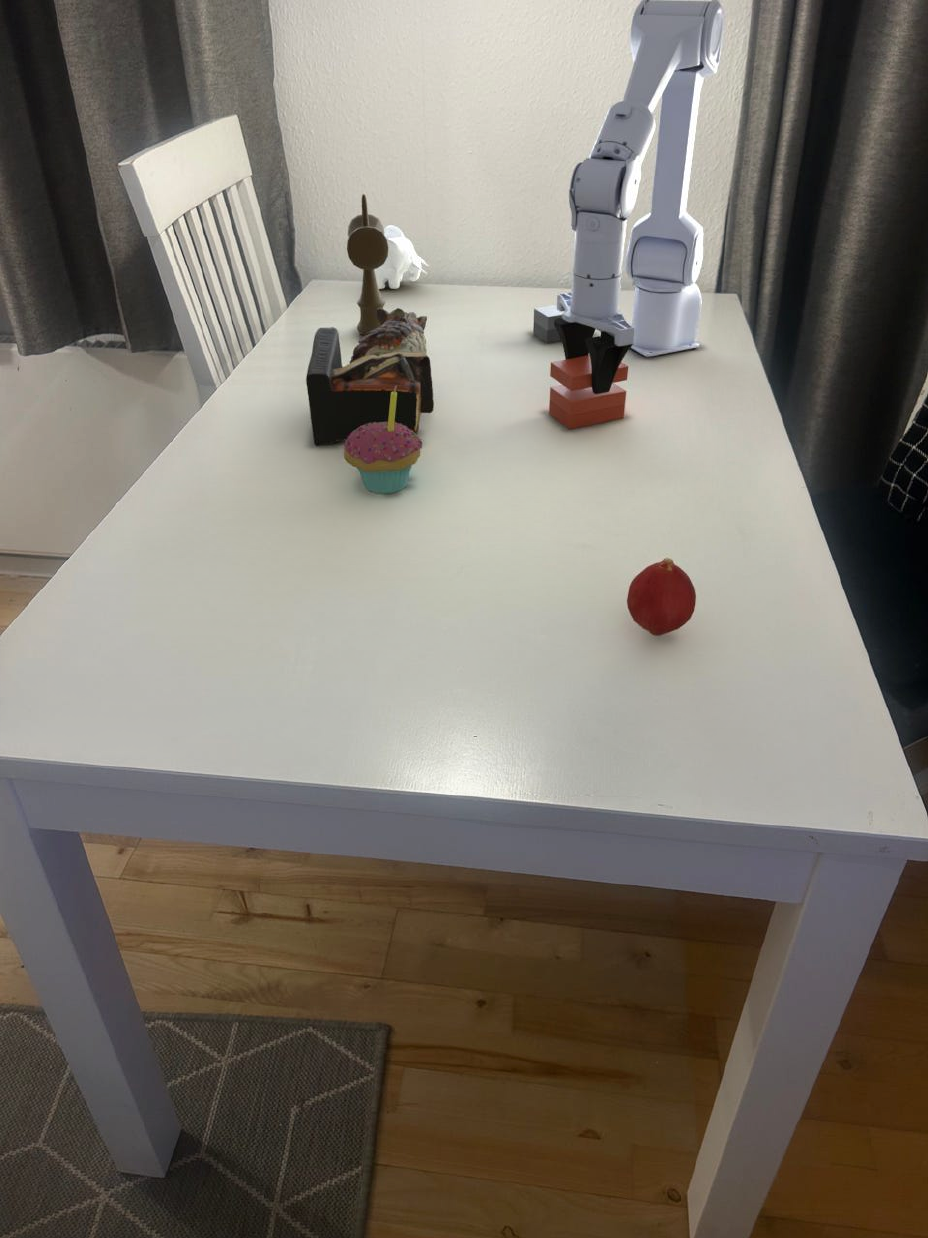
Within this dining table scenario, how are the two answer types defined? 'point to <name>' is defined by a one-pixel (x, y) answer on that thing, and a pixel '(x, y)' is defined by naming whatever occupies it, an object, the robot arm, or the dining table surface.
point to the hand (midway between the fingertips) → (588, 383)
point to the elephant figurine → (398, 260)
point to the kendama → (367, 263)
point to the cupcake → (383, 452)
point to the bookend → (370, 377)
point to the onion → (661, 598)
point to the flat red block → (580, 373)
